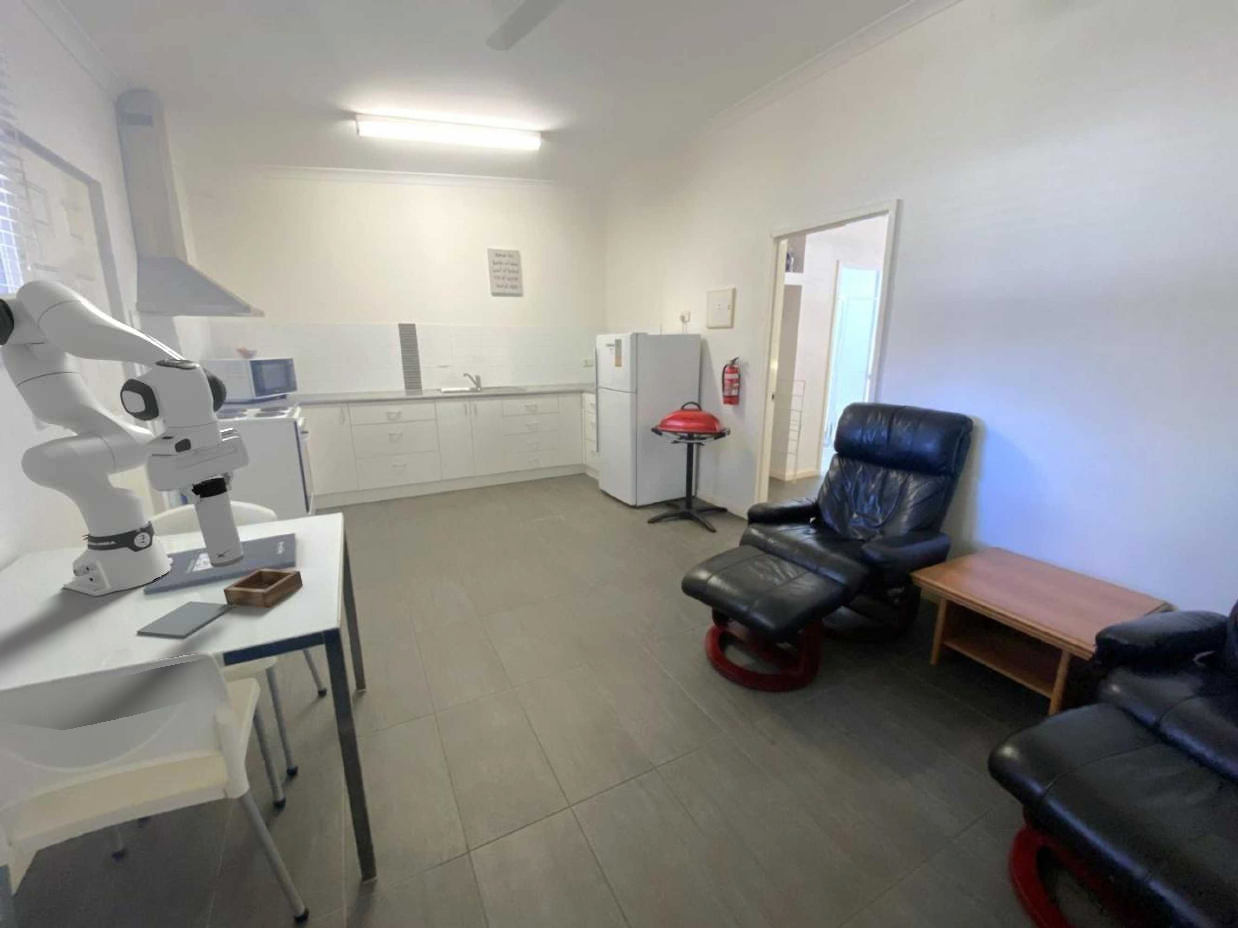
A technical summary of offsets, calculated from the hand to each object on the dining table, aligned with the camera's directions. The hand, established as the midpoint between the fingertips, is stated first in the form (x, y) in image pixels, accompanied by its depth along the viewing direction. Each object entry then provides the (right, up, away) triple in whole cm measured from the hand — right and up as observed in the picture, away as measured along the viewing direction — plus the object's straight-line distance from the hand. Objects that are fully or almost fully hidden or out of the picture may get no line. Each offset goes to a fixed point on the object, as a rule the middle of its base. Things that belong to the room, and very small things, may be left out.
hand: (211, 497), depth 114 cm
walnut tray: (+5, -25, +11) cm, 27 cm away
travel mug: (0, -15, +5) cm, 16 cm away
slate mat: (-6, -28, +1) cm, 28 cm away
